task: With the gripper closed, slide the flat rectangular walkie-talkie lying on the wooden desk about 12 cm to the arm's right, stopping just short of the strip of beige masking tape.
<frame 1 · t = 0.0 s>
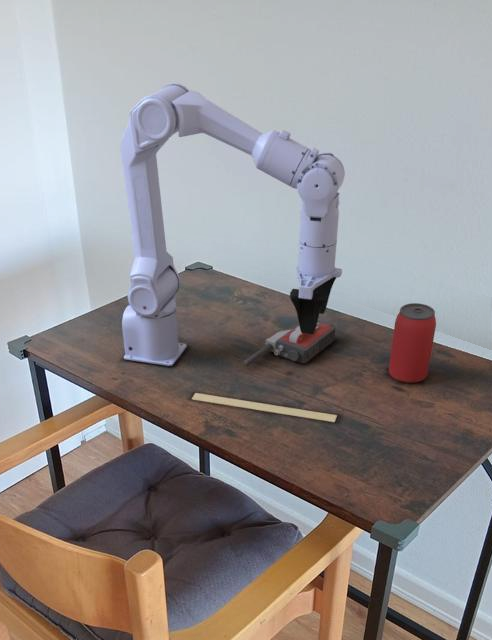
hand: (312, 322, 123), 10 cm above the table, tool pointing down, fingers open, 7 cm apart
tape line: (262, 407, 122), on the table
walkie-talkie: (291, 354, 136), on the table
beer can: (407, 376, 129), on the table
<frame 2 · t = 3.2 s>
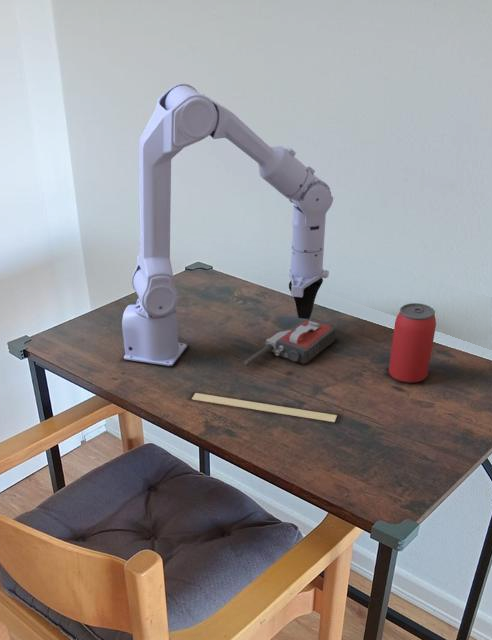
hand: (304, 317, 141), 3 cm above the table, tool pointing down, fingers closed, pressing on walkie-talkie
walkie-talkie: (291, 354, 136), on the table, touching gripper
everything else where it was.
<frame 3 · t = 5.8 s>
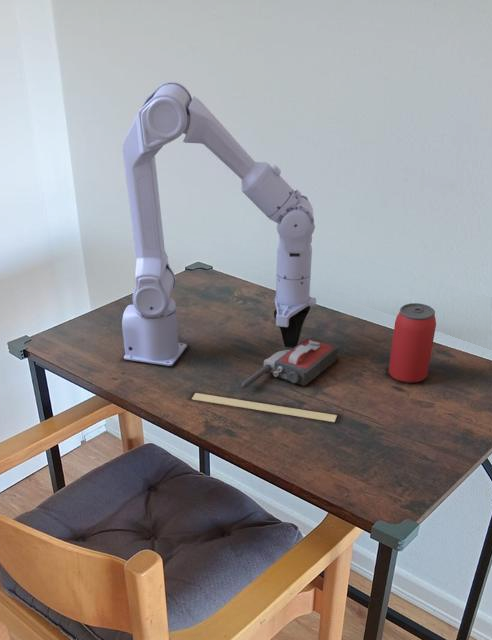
hand: (290, 346, 134), 2 cm above the table, tool pointing down, fingers closed, pressing on walkie-talkie
walkie-talkie: (291, 375, 130), on the table, touching gripper
everything else where it was.
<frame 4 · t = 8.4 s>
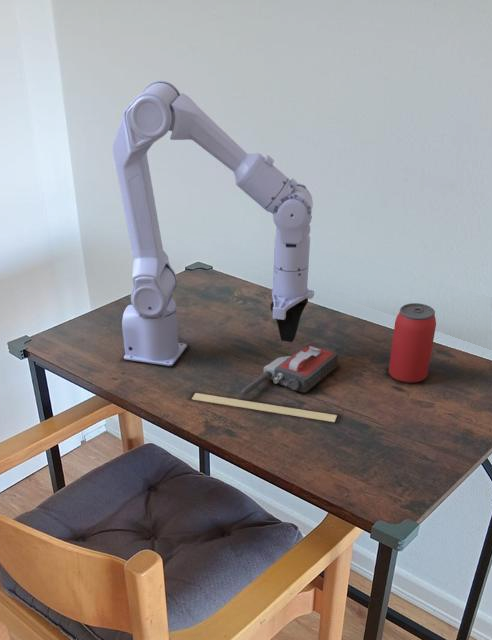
hand: (287, 339, 131), 4 cm above the table, tool pointing down, fingers closed
walkie-talkie: (291, 381, 129), on the table
everything else where it was.
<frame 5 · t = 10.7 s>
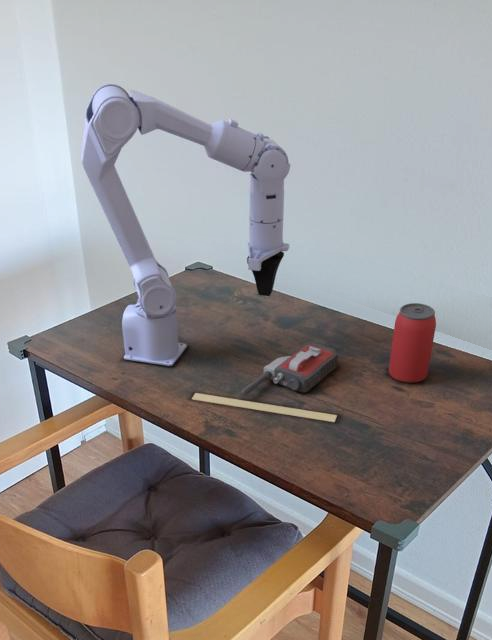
hand: (264, 294, 134), 9 cm above the table, tool pointing down, fingers closed
nothing on the table moved.
at the end: walkie-talkie inside the target area (3.6 cm from its centre), on the table; walkie-talkie moved 9.9 cm from its start; walkie-talkie tilted 0° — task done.
